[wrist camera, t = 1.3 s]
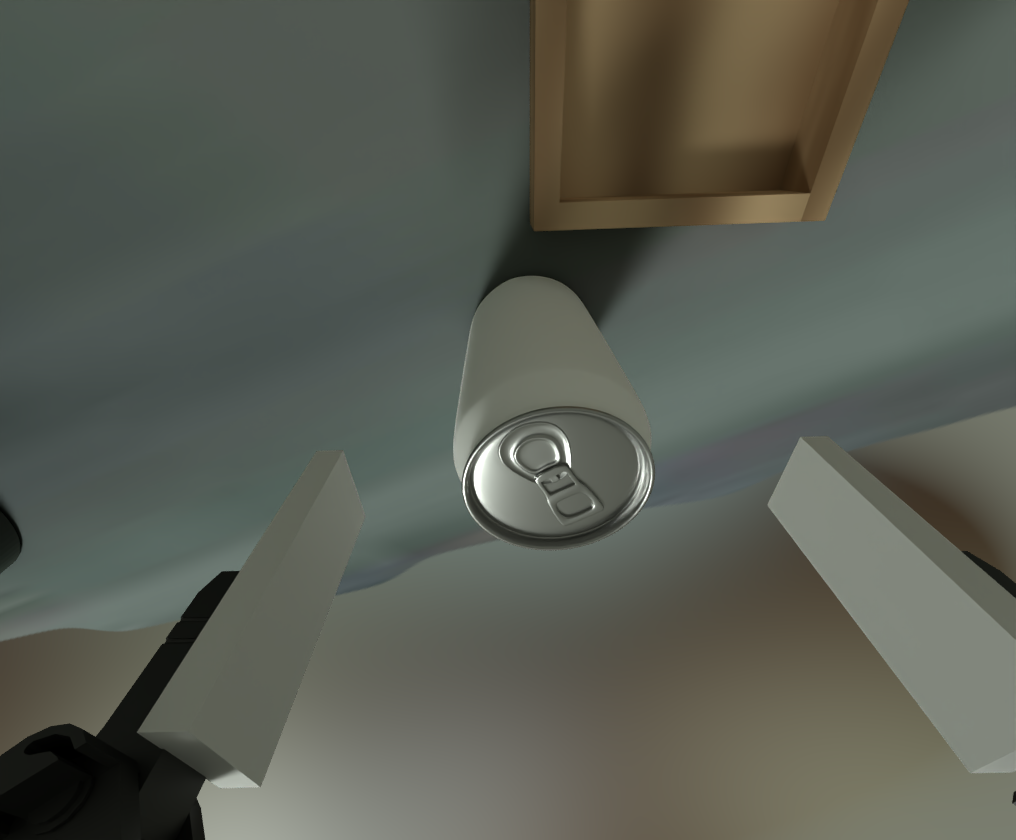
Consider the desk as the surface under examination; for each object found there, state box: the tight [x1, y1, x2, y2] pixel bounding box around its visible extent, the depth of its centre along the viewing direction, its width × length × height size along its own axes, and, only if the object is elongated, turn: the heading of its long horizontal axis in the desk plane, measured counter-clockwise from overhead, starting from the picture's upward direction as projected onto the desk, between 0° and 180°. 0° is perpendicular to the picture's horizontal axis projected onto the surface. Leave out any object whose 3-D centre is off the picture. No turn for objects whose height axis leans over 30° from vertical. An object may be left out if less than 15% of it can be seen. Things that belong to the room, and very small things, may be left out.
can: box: [453, 276, 655, 550], centre depth 16 cm, size 6×6×12 cm
